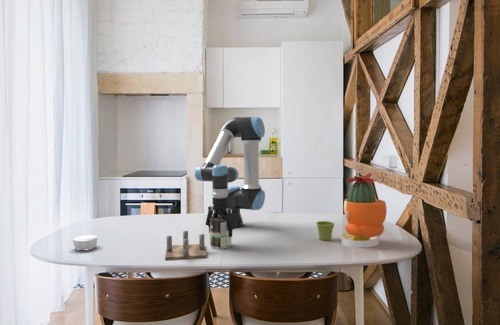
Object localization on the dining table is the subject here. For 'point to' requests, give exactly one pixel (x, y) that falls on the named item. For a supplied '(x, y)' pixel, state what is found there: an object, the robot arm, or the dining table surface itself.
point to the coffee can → (218, 233)
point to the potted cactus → (363, 214)
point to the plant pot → (325, 230)
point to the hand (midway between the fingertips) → (220, 241)
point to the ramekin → (85, 242)
